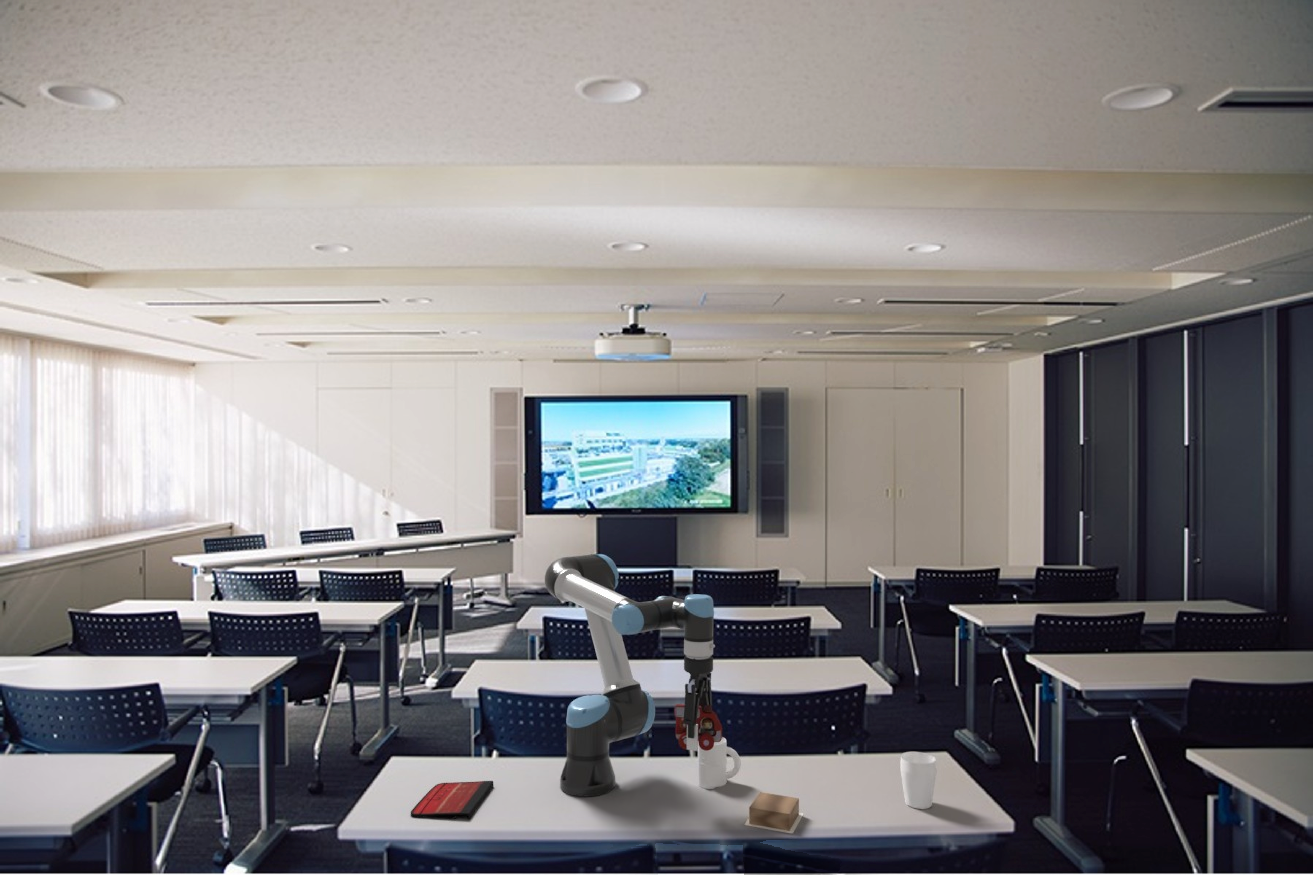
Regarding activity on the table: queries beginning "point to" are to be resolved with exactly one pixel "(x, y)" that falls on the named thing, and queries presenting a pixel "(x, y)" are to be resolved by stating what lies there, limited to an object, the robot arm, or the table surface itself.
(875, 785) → the table surface
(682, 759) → the table surface
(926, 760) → the cup
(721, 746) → the mug
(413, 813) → the binder
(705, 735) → the toy fire truck
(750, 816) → the base block
